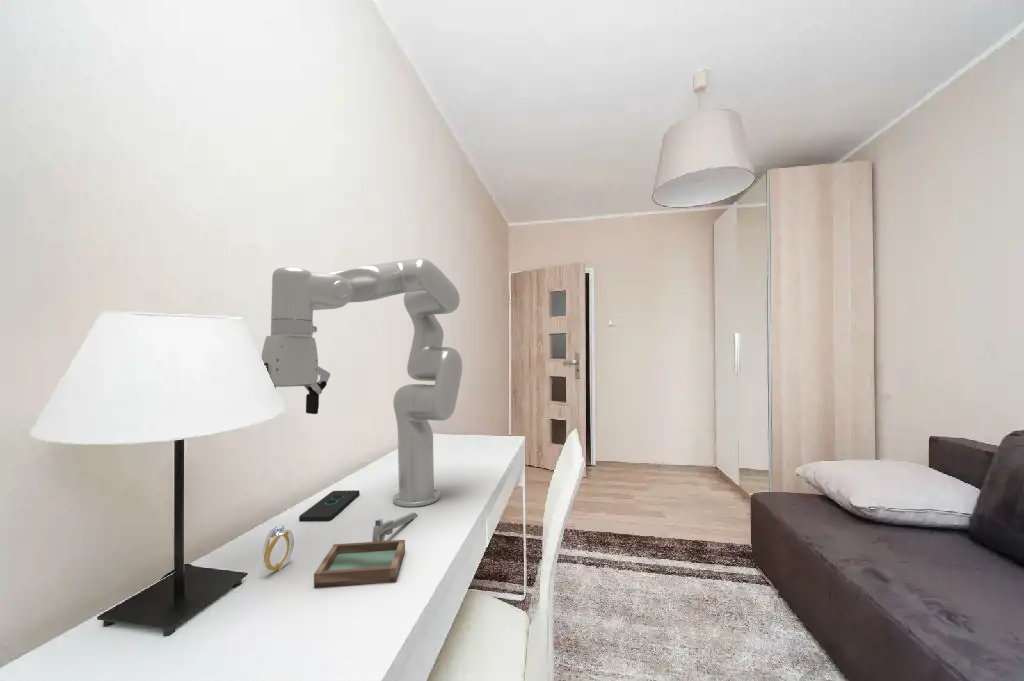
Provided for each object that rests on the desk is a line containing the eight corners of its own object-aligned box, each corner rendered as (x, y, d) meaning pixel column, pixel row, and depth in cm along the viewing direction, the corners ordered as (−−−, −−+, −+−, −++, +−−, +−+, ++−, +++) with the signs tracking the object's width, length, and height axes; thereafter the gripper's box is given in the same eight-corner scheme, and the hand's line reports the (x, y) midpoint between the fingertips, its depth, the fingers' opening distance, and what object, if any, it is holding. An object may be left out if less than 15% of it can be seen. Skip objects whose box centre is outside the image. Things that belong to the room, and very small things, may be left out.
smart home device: (361, 489, 128) (330, 516, 108) (361, 495, 128) (330, 523, 108) (332, 490, 129) (297, 516, 109) (332, 496, 129) (297, 523, 109)
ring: (270, 579, 81) (270, 535, 81) (256, 577, 82) (256, 533, 82) (299, 562, 88) (298, 521, 88) (286, 560, 89) (285, 519, 89)
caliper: (377, 554, 91) (377, 523, 91) (372, 554, 91) (372, 522, 91) (418, 516, 111) (417, 490, 111) (413, 516, 111) (413, 490, 111)
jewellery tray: (334, 556, 90) (333, 544, 90) (405, 551, 91) (404, 539, 91) (314, 588, 78) (313, 574, 78) (396, 581, 79) (395, 568, 79)
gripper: (318, 333, 99) (317, 411, 98) (237, 328, 84) (234, 419, 83) (340, 332, 95) (339, 413, 94) (258, 326, 80) (256, 421, 79)
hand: (289, 415), depth 89 cm, fingers open, 9 cm apart
